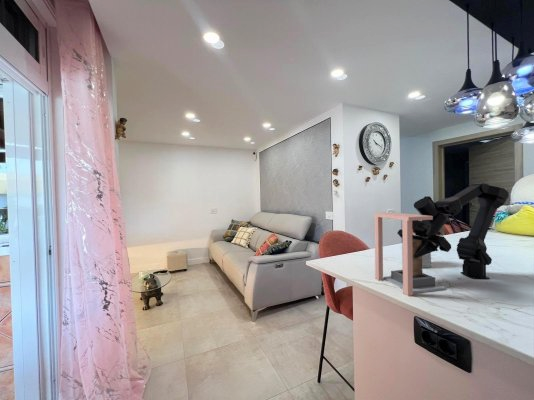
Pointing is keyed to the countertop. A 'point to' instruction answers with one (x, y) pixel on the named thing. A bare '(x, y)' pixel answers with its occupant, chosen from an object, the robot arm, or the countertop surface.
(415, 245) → the walnut peg
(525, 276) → the countertop surface
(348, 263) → the countertop surface
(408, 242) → the pink arch frame
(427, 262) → the skincare box
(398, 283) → the socket
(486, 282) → the countertop surface
